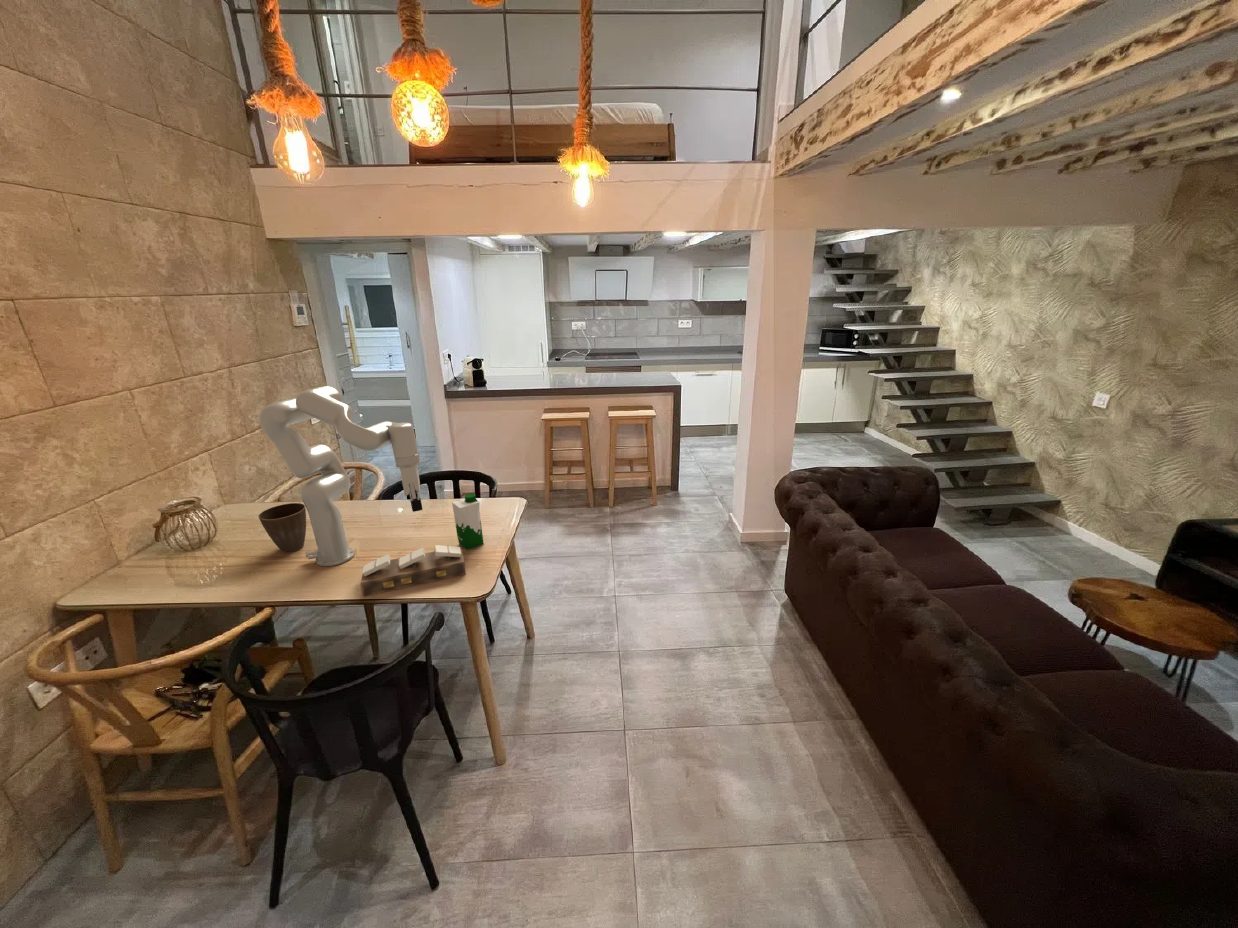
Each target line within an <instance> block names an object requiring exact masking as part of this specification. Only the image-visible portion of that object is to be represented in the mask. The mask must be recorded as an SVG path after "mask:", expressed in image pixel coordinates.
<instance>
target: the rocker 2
mask: <svg viewBox="0 0 1238 928" xmlns="http://www.w3.org/2000/svg"><path fill="white" fill-rule="evenodd" d="M425 553H426V550H425V548H424V547H421V548H418V549H417V550H415V551H412V552H410V553H408V554H406V555H404V556H403V557H399V558H400V559H399V567H400V568H401V569H403V568H405V567H407V566H409V565H411V564H413V563H415V562H417V561H419V560H421V559H423V558H425Z"/></svg>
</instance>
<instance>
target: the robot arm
mask: <svg viewBox="0 0 1238 928" xmlns="http://www.w3.org/2000/svg"><path fill="white" fill-rule="evenodd" d="M342 398H343V397H342V395H341V393H340V392H339V391H338V390H337V389H336V388H334V387H332V386H329V385H324V386H323V385H322V386H318V387H313V388H309V389H305V390H303V391H301V392H300V393H299V394H297V396H296V397H291V398H287V399H283V400H279V401H275V402H273V403H269V404H268V405H266V406H265V407H264V408H263V409H261V411H260V414H259V425H260V428H261V430H262V431H263V433H264V434H265V435H266V437H267V438H268V439H269V440H270V442H272V443H273V445H274V446H275V447H276V449H277V451H278V453H279V455H281V457H282V459H283V461H284V462H285V465H286V466H287V467H288V469H289V471H290V472H291V473H292V475H294V477H296V478H298V479H305V478H309V477H312V476H314V475H317V474H318V473H320V474H321V475H319V476H317V477H316V478H313V479H310V480H309V481H307V482H306V483H305V484H303V486H302V487H301V489H300V499H301V500H302V502H303V504H304V505H305V509H306V512H307V513H308V517H309V519H310V520H309V521H310V523H311V527H312V530H313V531H312V532H313V535H314V539H315V543H316V546H317V549H315V550H311V551H305V552H304V553H305V558H308V560H313V559H315V563H316V565H318V566H320V567H332V566H337V565H341V564H343V563H345V562H348V561H350V560H351V559H352V558H353V557H354V556H355V549H354V548H352V547H349V544H348V541H347V539H348V538H347V534H346V531H345V527H344V522H343V518H342V514H341V511H340V509H339V508H338V506H337V505H335V503H333V502H334V500H336V499H337V498H339V497H340V496H343V495H344V494H346V493H348V492H349V490H351V480H350V479H351V478H350V476H349V474H348V473H347V471H346V469H345V467H344V466H343V464H342V462H341V461H340V458H339V457H338V456H337V453H336V452H335V451H334V450H333V449H332V448H331V447H329V446H328V445H327V444H326V445H325V444H322V443H321V444H319V443H318V444H314V445H311V446H310V445H308V443H307V442H306V440H305V438H304V437H303V436H302V434H301V433H299V432H298V431H297V430H295V429H293V428H292V427H291V426H293V425H295V424H298V423H302V422H305V421H309V420H312V419H316V420H318V421H320V422H322V423H325V424H326V425H329V426H331V427H333V428H335V430H336V432H337V434H338V435H339V436H340V438H341V439H342V440H343V441H344V442H346V443H347V444H349V445H351V446H353V447H356V448H358V449H360V450H364V451H367V452H372V451H373V452H374V451H376V450H379V449H381V448H383V447H385V446H388V445H391V447H392V452H393V457H394V461H395V462H394V463H395V467H396V468H399V473H400V478H401V484H402V487H403V488H402V489H403V493H404V496H405V497H406V496H408V495H409V498H410V504H411V509H412V512H420V511H423V505H422V499H421V497H420V493H421V482H420V475H419V469H418V465H419V464H420V463H421V460H420V455H419V449H418V443H417V439H416V434H415V429H414V426H413V424H412V423H410V422H393V421H381V422H378V423H376V424H373V425H370V426H367V427H364V426H361V425H359V424H357V423H354V422H353V421H352V420H353V417H354V416H353V415H354V411H353V408H352V407H351V406H350V405H349V404H346V403H344V402H342V401H343V399H342Z"/></svg>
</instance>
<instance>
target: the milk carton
mask: <svg viewBox="0 0 1238 928" xmlns="http://www.w3.org/2000/svg"><path fill="white" fill-rule="evenodd" d="M451 504H452V505H451V506H452V510H453V511H452V512H453V516H454V523H455V529H456V536H457V540H458V541H457V542H458V544H459V545H460V546H461V548H463V549H464V550H465V551H469V550H471V549H474V548H477V547H481V546H484V544H485V543H484V538H483V537H484V535H483V534H484V533H483V527H482V521H481V520H482V519H481V512H480V504H481V503H480V502H479V500H478V499H477V495H476V493H468V494H464V498H460V499H458V500H454V501H451Z"/></svg>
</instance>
